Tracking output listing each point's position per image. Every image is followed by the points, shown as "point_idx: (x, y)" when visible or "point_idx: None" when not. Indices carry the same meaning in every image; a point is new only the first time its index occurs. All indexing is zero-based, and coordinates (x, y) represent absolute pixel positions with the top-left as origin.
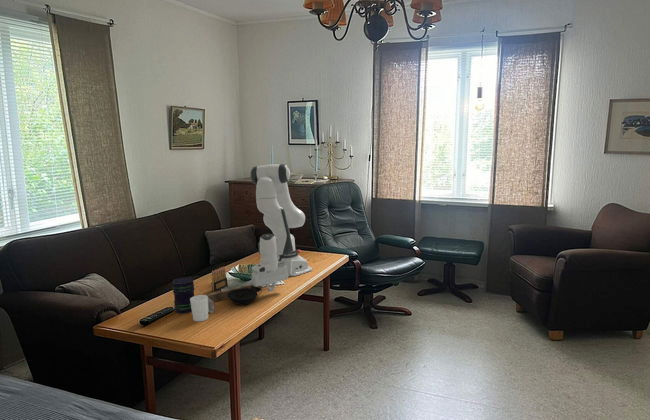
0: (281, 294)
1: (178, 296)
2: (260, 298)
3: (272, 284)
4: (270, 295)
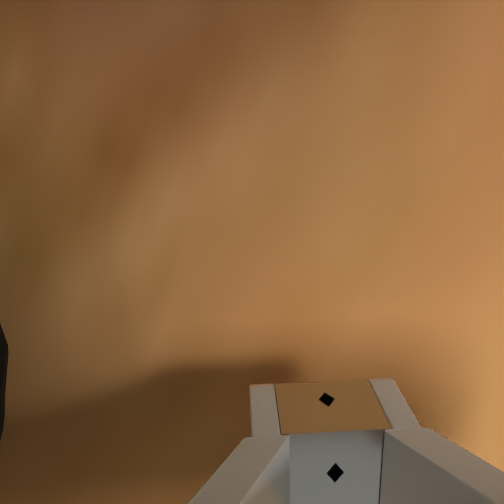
0: None
1: None
2: (20, 450)
3: (452, 488)
4: None
